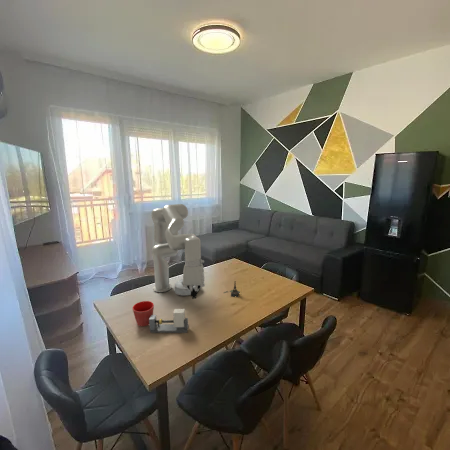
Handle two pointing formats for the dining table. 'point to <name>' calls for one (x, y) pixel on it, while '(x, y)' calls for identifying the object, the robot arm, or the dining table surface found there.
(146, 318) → the flower pot
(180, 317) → the white sliding block
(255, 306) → the dining table surface
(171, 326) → the grey slider rail
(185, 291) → the cable
